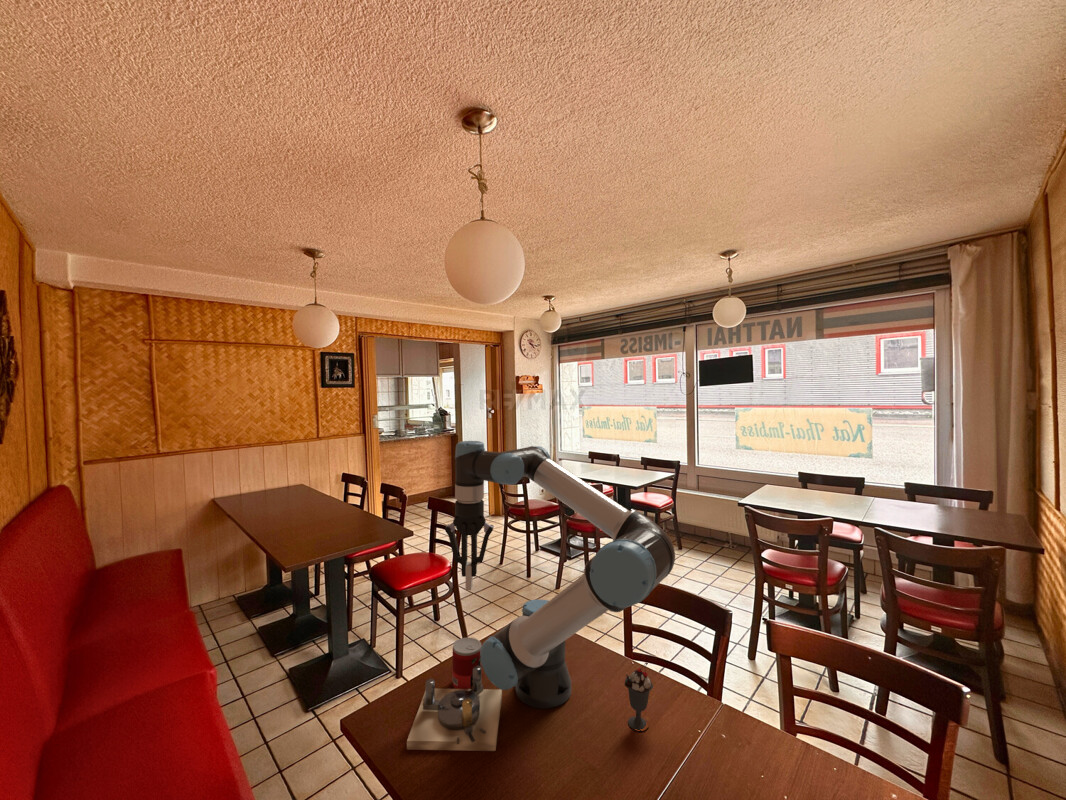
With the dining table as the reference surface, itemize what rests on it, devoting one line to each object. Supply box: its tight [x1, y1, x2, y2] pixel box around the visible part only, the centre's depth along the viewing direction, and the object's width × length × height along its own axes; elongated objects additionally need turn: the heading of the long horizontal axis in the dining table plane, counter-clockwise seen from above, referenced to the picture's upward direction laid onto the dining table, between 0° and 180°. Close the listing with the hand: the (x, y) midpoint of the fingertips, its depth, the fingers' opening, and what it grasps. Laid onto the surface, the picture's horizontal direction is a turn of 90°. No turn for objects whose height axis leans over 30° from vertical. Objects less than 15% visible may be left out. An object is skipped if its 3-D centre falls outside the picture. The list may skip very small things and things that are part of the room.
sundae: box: [624, 662, 654, 731], centre depth 107 cm, size 7×7×15 cm
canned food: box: [452, 637, 482, 689], centre depth 121 cm, size 8×8×11 cm
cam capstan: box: [423, 665, 484, 734], centre depth 106 cm, size 13×16×7 cm
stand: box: [406, 688, 503, 752], centre depth 108 cm, size 20×18×4 cm
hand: (469, 588), depth 117 cm, fingers closed
